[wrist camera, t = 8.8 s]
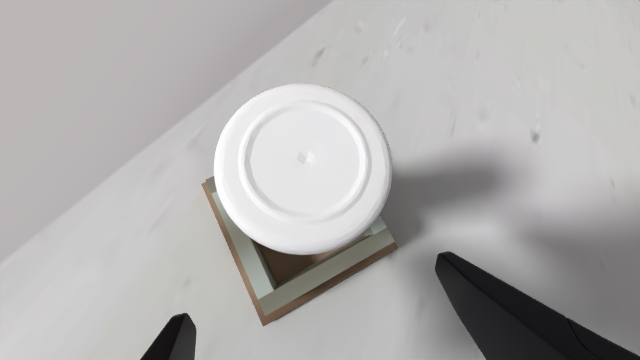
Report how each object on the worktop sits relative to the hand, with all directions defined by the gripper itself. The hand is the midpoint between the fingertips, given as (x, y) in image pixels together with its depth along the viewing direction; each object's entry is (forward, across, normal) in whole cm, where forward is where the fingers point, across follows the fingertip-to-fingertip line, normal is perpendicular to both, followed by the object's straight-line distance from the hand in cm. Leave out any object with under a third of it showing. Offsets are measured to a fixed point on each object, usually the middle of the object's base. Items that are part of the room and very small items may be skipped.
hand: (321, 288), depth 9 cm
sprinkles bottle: (+10, 0, +4) cm, 10 cm away
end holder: (+10, 0, +5) cm, 11 cm away
